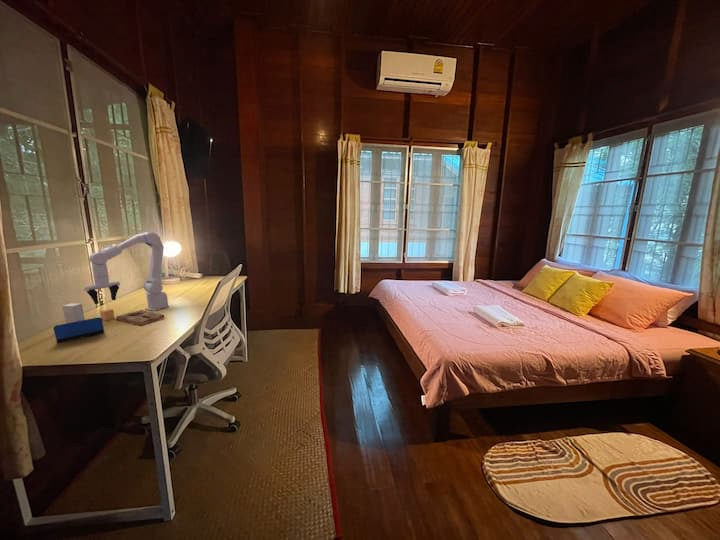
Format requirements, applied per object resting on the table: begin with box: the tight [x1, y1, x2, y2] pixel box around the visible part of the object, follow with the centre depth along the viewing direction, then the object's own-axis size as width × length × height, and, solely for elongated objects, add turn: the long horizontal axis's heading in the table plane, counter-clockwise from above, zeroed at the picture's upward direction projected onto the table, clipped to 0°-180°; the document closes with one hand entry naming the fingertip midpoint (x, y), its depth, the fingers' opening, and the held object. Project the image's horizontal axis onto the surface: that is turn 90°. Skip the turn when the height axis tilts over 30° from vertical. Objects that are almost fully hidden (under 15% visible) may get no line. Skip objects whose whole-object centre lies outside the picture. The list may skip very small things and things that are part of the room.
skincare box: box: [61, 302, 86, 324], centre depth 144 cm, size 6×4×12 cm
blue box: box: [53, 316, 105, 344], centre depth 135 cm, size 16×13×9 cm
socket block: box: [115, 309, 165, 326], centre depth 158 cm, size 12×20×2 cm, turn 65°
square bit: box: [99, 308, 116, 322], centre depth 158 cm, size 4×4×5 cm
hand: (105, 301), depth 157 cm, fingers open, 7 cm apart
